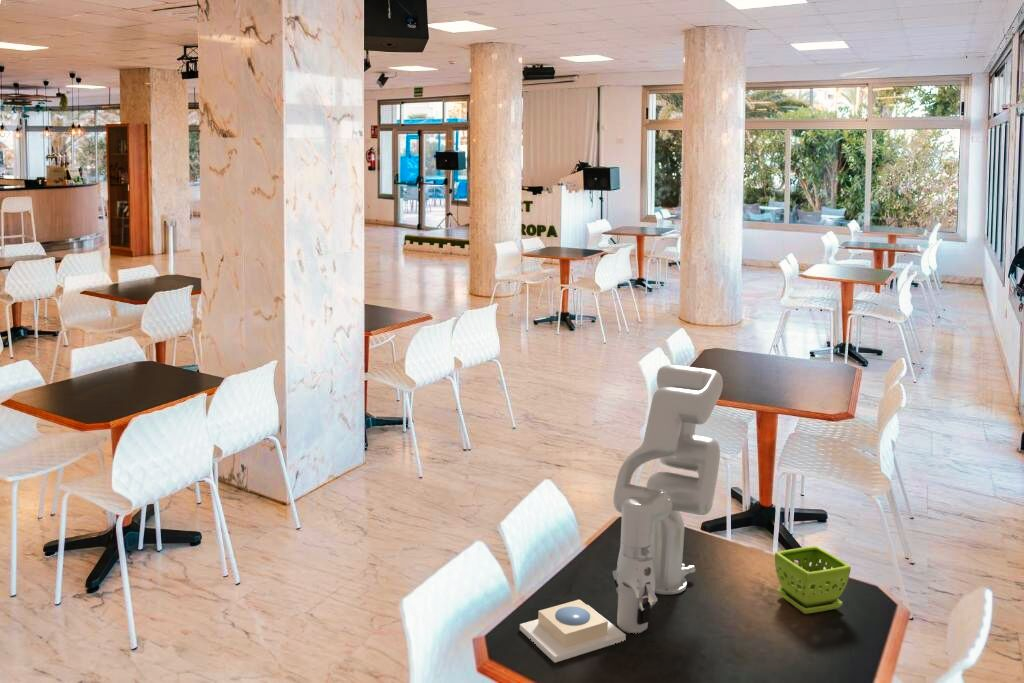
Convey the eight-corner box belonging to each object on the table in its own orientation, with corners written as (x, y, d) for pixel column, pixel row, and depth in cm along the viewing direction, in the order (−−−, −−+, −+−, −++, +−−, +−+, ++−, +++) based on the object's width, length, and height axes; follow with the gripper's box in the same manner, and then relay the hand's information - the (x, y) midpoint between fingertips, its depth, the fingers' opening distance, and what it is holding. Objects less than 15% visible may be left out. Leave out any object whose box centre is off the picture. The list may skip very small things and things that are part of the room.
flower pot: (848, 612, 224) (853, 566, 221) (803, 621, 219) (807, 574, 216) (812, 587, 237) (816, 543, 234) (769, 595, 232) (773, 550, 229)
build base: (587, 610, 223) (588, 591, 221) (625, 640, 209) (626, 620, 208) (519, 629, 213) (520, 610, 212) (554, 662, 199) (555, 642, 198)
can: (646, 637, 210) (649, 591, 208) (615, 633, 212) (617, 588, 209) (648, 621, 218) (650, 577, 215) (618, 618, 219) (620, 573, 217)
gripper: (671, 559, 205) (667, 628, 208) (626, 531, 220) (623, 596, 223) (646, 566, 201) (642, 636, 205) (602, 537, 216) (599, 603, 220)
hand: (632, 614), depth 214 cm, fingers closed on can, 7 cm apart
